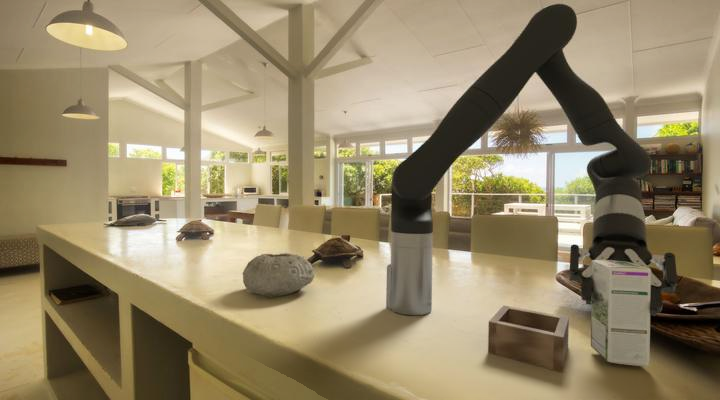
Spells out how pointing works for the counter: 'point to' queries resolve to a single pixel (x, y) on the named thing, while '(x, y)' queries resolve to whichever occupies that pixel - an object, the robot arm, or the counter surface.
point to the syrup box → (621, 311)
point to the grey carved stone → (277, 274)
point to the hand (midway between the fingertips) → (619, 307)
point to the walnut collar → (529, 337)
